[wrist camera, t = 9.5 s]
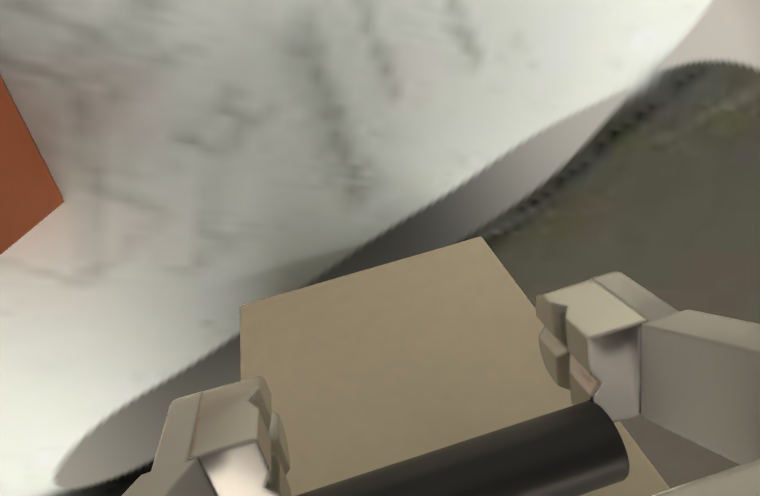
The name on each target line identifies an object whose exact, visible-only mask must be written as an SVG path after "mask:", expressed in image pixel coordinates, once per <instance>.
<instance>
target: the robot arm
mask: <svg viewBox="0 0 760 496" xmlns="http://www.w3.org/2000/svg"><path fill="white" fill-rule="evenodd" d="M535 308H536V317H537V318H538V319H539V320H540V321H541V322H542V323H543V324H544V327H543V329H542V331H541V333H540V334H539V336H538V339H539V346H540V353H541V356H542V359H543V362H544V364H545V367H546V369H547V371H548V372H549V374H550V376H551V377H552V379H553V380H554V381H555V382H556V384H557V385H558V386H560V387H563V388H565V389H568V390H570V391H571V402H572V404H573V405H576V404H579V403H582V402H585V401H590V402H595V403H597V404H598V405H599V406H601V407H602V408H603V409H604V410H605V412H606V413H607V414H608V415H609V417H610V418H611V420H612V421H613V423H614V422H617V421H621V420H624V419H628V418H631V417H635V416H638V415H641V417H642V418H644V419H646V420H648V421H650V422H653V423H655V424H657V425H659V426H661V427H663V428H665V429H667V430H669V431H671V432H673V433H675V434H677V435H680V436H682V437H684V438H686V439H688V440H690V441H692V442H694V443H696V444H698V445H700V446H702V447H705V448H707V449H709V450H711V451H713V452H715V453H717V454H719V455H721V456H723V457H725V458H727V459H729V460H732V461H734V462H736V463H738V464H740V466H737V467H734V468H731V469H728V470H725V471H722V472H719V473H716V474H713V475H710V476H707V477H704V478H701V479H698V480H695V481H692V482H689V483H686V484H683V485H680V486H677V487H674V488H671V489H668V490H665V491H662V492H659V493H656V494H653V495H650V496H760V324H757V323H752V322H747V321H743V320H738V319H733V318H728V317H723V316H718V315H713V314H708V313H703V312H698V311H693V310H685V311H681V312H679V311H677V310H676V309H674V308H673V307H671V306H670V305H668V304H667V303H665V302H664V301H663V300H661V299H660V298H658V297H657V296H655V295H654V294H652V293H651V292H649V291H648V290H646V289H645V288H643V287H642V286H640V285H639V284H637V283H636V282H634V281H633V280H631V279H630V278H629V277H627V276H626V275H624V274H623V273H621V272H615V271H613V272H610V273H607V274H604V275H601V276H598V277H595V278H592V279H589V280H587V281H584V282H581V283H577V284H574V285H571V286H568V287H565V288H561V289H558V290H555V291H552V292H548V293H545V294H542V295H539V296H537V297H536V303H535ZM289 470H290V458H289V450H288V444H287V438H286V435H285V431H284V428H283V424H282V422H281V419H280V416H279V414H277V413H276V412H274V411H272V410H271V392H270V390H269V388H268V385H267V383H266V380H265V379H264V378H263V377H262V376H258V377H254V378H250V379H247V380H243V381H239V382H236V383H232V384H228V385H225V386H221V387H217V388H214V389H210V390H206V391H204V392H199V393H195V394H192V395H188V396H185V397H181V398H178V399H175V400H174V401H173V402H172V403H171V404H170V407H169V411H168V414H167V418H166V421H165V425H164V428H163V432H162V435H161V439H160V442H159V446H158V449H157V453H156V456H155V460H154V463H153V467H152V470H151V472H149V473H146V474H142V475H141V476H140V477H139V478H138V479H137V480H136V481H135V482H134V483H133V484H132V485H131V486H130V487H129V488H128V490H127V491H126V492H125V493H124V494H123V495H122V496H291V489H290V486H289V484H288V481H287V479H286V474H287V473H288V471H289Z"/></svg>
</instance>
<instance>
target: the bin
mask: <svg viewBox="0 0 760 496" xmlns="http://www.w3.org/2000/svg"><path fill="white" fill-rule="evenodd" d="M543 327H544V324H543V323H542V322H541V321H540V320H539V319H538V318H537V317H536V309H535V308H534V306H533V305H532V304H531V302H530V301H529V300H528V298H527V297H526V296H525V294H524V293H523V292H522V290H521V289H520V288H519V286H518V285H517V284H516V282H515V281H514V280H513V278H512V277H511V276H510V274H509V273H508V272H507V270H506V269H505V268H504V266H503V265H502V264H501V262H500V261H499V260H498V258H497V257H496V256H495V254H494V253H493V252H492V250H491V249H490V248H489V246H488V245H487V244H486V242H485V241H484V240H483V238H482V237H477V238H474V239H470V240H467V241H463V242H460V243H456V244H453V245H449V246H446V247H443V248H439V249H436V250H432V251H429V252H425V253H422V254H418V255H415V256H411V257H408V258H404V259H401V260H397V261H394V262H391V263H387V264H383V265H380V266H376V267H373V268H369V269H366V270H363V271H359V272H356V273H352V274H349V275H345V276H342V277H338V278H335V279H331V280H328V281H324V282H321V283H317V284H314V285H311V286H307V287H304V288H300V289H297V290H293V291H290V292H286V293H283V294H279V295H276V296H272V297H269V298H265V299H262V300H258V301H255V302H252V303H248V304H245V305H241V306H240V355H241V357H240V358H241V381H243V380H247V379H250V378H254V377H258V376H262V377H263V378H264V379H265V380H266V383H267V385H268V388H269V390H270V392H271V410H272V411H274V412H276V413H277V414H279V416H280V419H281V422H282V424H283V428H284V431H285V435H286V438H287V444H288V450H289V458H290V470H289V471H288V473H287V474H286V479H287V481H288V484H289V486H290V489H291V496H650V495H653V494H656V493H659V492H662V491H665V490H668V489H670V488H669V487H668V485H667V484H666V483H665V481H664V480H663V479H662V477H661V476H660V475H659V473H658V472H657V471H656V469H655V468H654V467H653V465H652V464H651V463H650V461H649V460H648V459H647V457H646V456H645V455H644V453H643V452H642V451H641V449H640V448H639V447H638V445H637V444H636V443H635V441H634V440H633V439H632V437H631V436H630V435H629V433H628V432H627V431H626V429H625V428H624V427H623V425H622V424H621V423H620V421H617V422H614V423H613V421H612V420H611V418H610V417H609V415H608V414H607V413H606V412H605V410H604V409H603V408H602V407H601V406H599V405H598V404H597V403H595V402H590V401H585V402H582V403H579V404H576V405H573V404H572V402H571V391H570V390H568V389H565V388H563V387H560V386H558V385H557V384H556V382H555V381H554V380H553V379H552V377H551V376H550V374H549V372H548V371H547V369H546V367H545V364H544V362H543V359H542V356H541V353H540V346H539V339H538V336H539V334H540V333H541V331H542V329H543Z"/></svg>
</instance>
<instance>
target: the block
mask: <svg viewBox="0 0 760 496" xmlns="http://www.w3.org/2000/svg"><path fill="white" fill-rule="evenodd" d="M63 202H64V200H63V198H62V196H61V194H60V192H59V190H58V188H57V186H56V184H55V182H54V180H53V178H52V176H51V174H50V173H49V171H48V169H47V167H46V165H45V163H44V161H43V159H42V157H41V155H40V153H39V151H38V149H37V147H36V145H35V143H34V141H33V139H32V137H31V135H30V133H29V131H28V129H27V127H26V125H25V123H24V121H23V119H22V117H21V115H20V113H19V112H18V110H17V108H16V106H15V104H14V102H13V100H12V98H11V96H10V94H9V92H8V90H7V88H6V86H5V84H4V82H3V80H2V78H1V76H0V254H2V253H3V252H4V251H6V250H7V249H8V248H9V247H10V246H12V245H13V244H14V243H15V242H16V241H18V240H19V239H20V238H21V237H22V236H24V235H25V234H26V233H27V232H28V231H30V230H31V229H32V228H33V227H34V226H36V225H37V224H38V223H39V222H40V221H42V220H43V219H44V218H45V217H46V216H48V215H49V214H50V213H51V212H52V211H54V210H55V209H56V208H57V207H59V206H60V205H61V204H62V203H63Z"/></svg>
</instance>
